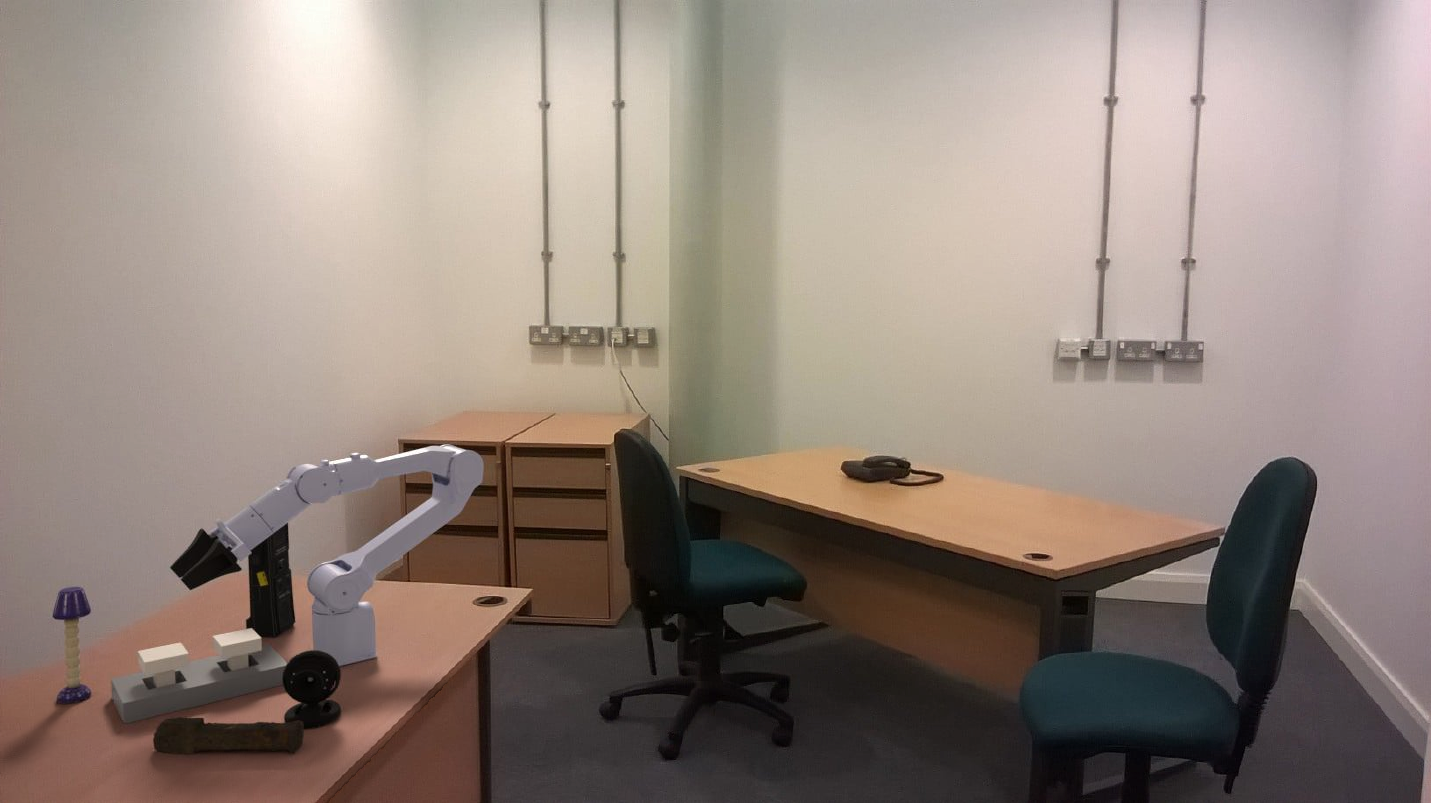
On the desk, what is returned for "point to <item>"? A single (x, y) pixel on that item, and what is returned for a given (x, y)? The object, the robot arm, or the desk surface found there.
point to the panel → (196, 685)
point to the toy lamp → (72, 640)
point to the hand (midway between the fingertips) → (179, 578)
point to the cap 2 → (237, 647)
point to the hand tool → (226, 736)
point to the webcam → (312, 688)
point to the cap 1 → (163, 662)
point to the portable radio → (271, 586)
